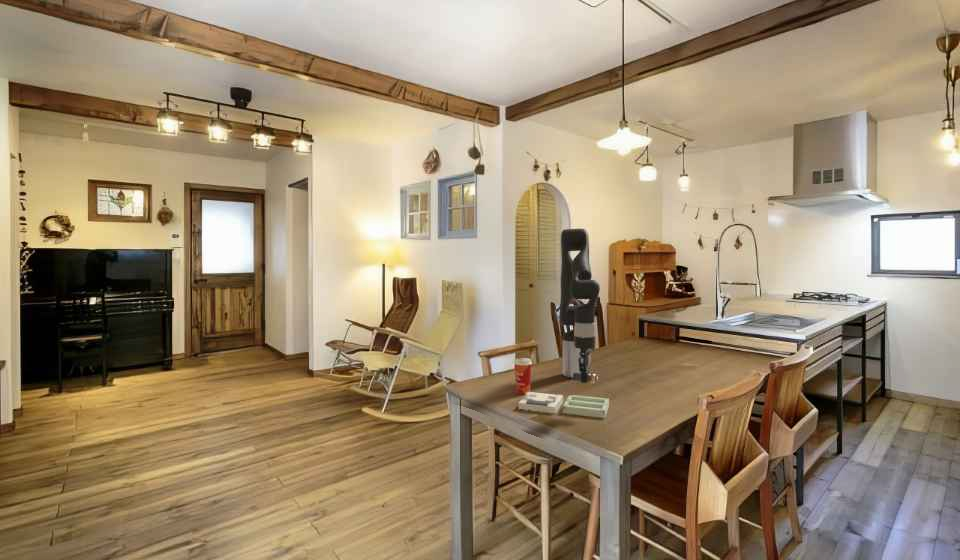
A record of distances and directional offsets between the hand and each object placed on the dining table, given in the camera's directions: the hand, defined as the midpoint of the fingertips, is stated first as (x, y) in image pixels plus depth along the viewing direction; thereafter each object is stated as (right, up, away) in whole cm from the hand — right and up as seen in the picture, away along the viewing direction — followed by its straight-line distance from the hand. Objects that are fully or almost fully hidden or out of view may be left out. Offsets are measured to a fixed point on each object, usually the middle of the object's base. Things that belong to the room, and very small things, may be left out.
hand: (584, 380), depth 166 cm
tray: (+1, -11, +4) cm, 12 cm away
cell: (0, 0, 0) cm, 1 cm away
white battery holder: (-15, -11, +9) cm, 21 cm away
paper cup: (-20, -11, +25) cm, 34 cm away
